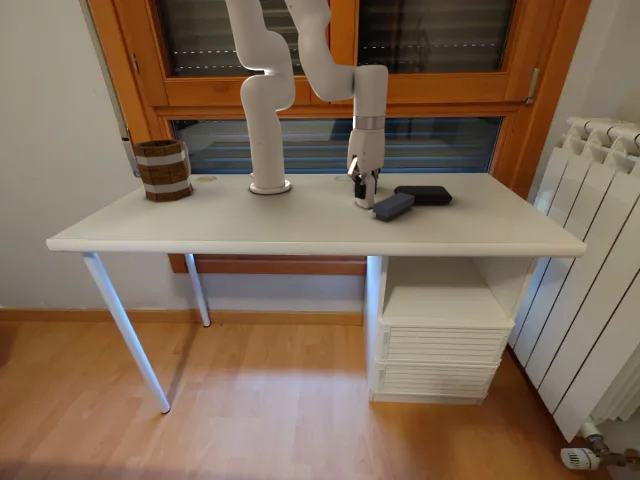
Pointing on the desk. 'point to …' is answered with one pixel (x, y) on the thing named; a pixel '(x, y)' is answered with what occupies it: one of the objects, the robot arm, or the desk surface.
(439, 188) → the carrying case
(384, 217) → the navy rectangular block
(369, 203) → the eye dropper bottle
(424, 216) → the desk surface
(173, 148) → the mug
